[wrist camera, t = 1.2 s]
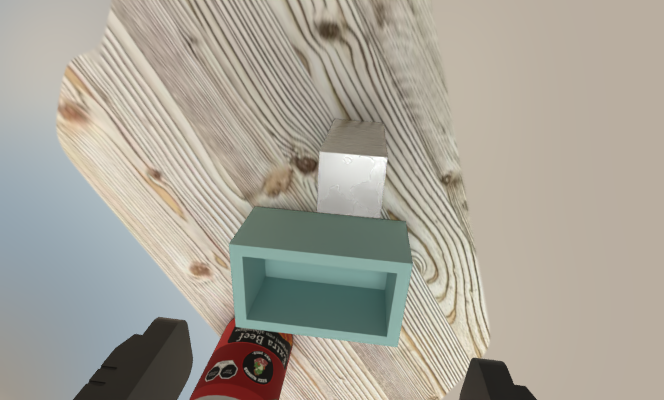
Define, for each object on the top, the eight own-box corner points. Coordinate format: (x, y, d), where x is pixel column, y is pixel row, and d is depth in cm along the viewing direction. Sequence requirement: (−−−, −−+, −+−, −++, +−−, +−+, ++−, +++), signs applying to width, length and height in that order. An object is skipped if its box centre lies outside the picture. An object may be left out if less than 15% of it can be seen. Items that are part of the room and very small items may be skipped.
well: (254, 206, 33) (228, 244, 27) (405, 221, 32) (412, 263, 26) (258, 279, 37) (235, 326, 31) (393, 295, 36) (397, 347, 30)
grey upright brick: (334, 118, 29) (319, 151, 21) (383, 122, 29) (387, 157, 21) (332, 165, 31) (316, 212, 23) (378, 169, 30) (379, 218, 22)
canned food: (307, 331, 39) (284, 431, 29) (271, 369, 42) (240, 471, 32) (248, 295, 38) (203, 388, 28) (215, 337, 41) (165, 433, 31)
